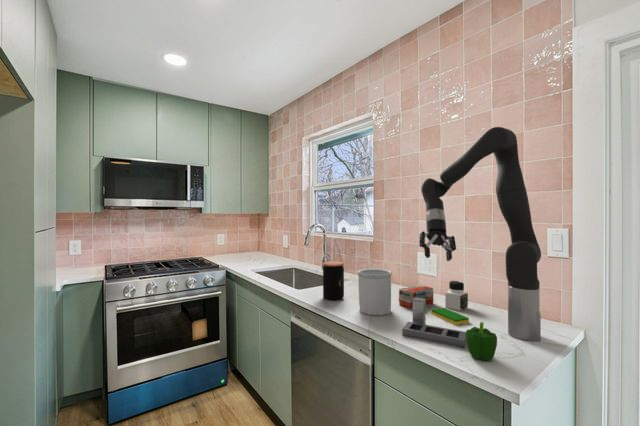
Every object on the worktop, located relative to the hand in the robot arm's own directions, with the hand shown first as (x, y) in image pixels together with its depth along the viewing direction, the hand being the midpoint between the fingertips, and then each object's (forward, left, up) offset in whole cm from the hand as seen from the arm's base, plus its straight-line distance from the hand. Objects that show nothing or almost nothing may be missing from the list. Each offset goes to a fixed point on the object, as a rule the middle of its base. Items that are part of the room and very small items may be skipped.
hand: (438, 258), depth 119 cm
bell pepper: (-16, +23, -25) cm, 38 cm away
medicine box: (+13, -20, -26) cm, 35 cm away
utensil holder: (+27, -2, -25) cm, 37 cm away
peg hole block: (-1, +15, -25) cm, 30 cm away
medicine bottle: (-4, -24, -25) cm, 35 cm away
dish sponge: (-3, -8, -26) cm, 27 cm away
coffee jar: (+52, -10, -25) cm, 59 cm away
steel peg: (+6, +6, -25) cm, 27 cm away
